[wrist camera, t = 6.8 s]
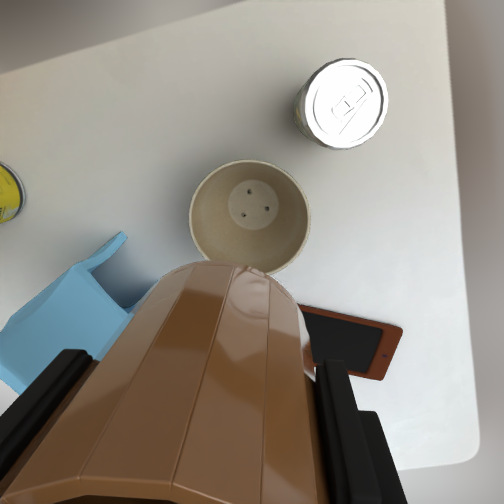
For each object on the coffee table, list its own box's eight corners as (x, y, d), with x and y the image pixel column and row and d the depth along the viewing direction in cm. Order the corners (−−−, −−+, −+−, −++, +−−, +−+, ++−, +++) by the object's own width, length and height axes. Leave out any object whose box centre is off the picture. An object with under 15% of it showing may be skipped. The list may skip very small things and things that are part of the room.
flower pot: (299, 253, 38) (304, 282, 31) (204, 247, 38) (188, 274, 32) (309, 155, 35) (317, 163, 28) (204, 149, 35) (187, 155, 28)
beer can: (325, 63, 32) (351, 32, 21) (365, 109, 33) (411, 105, 22) (280, 110, 33) (282, 105, 22) (320, 153, 34) (340, 169, 23)
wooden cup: (101, 335, 14) (-114, 600, 6) (216, 221, 12) (110, 400, 4) (223, 433, 15) (168, 754, 7) (344, 344, 13) (433, 649, 6)
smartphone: (268, 300, 39) (405, 330, 39) (268, 296, 40) (402, 326, 40) (254, 355, 41) (383, 383, 41) (254, 350, 42) (381, 377, 42)
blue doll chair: (72, 271, 40) (-106, 402, 22) (121, 230, 38) (-28, 337, 20) (121, 322, 42) (-4, 483, 24) (171, 286, 40) (77, 431, 22)
